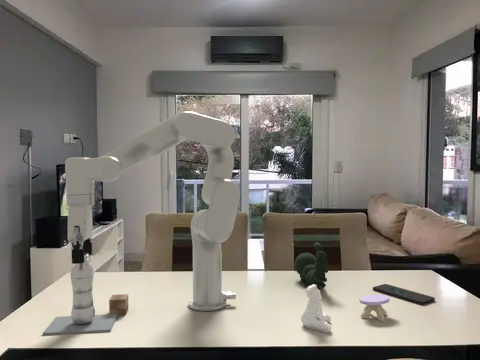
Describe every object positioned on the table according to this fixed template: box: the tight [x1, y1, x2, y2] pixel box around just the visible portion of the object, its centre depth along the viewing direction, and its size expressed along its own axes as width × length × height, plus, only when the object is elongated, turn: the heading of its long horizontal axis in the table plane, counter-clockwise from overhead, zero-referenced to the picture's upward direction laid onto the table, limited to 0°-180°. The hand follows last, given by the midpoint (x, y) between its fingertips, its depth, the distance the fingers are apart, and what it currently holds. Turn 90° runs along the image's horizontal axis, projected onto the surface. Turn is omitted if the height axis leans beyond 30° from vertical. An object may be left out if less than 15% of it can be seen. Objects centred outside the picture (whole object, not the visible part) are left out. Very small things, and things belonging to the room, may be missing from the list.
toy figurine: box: [293, 242, 329, 289], centre depth 159 cm, size 9×19×25 cm
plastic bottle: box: [69, 253, 96, 324], centre depth 119 cm, size 6×7×20 cm
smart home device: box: [372, 283, 436, 306], centre depth 145 cm, size 8×2×20 cm
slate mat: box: [42, 313, 119, 336], centre depth 119 cm, size 18×12×1 cm, turn 98°
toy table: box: [359, 294, 390, 322], centre depth 125 cm, size 10×9×6 cm
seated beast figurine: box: [300, 284, 332, 334], centre depth 118 cm, size 10×9×12 cm
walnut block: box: [108, 293, 129, 316], centre depth 129 cm, size 5×5×5 cm
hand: (82, 259), depth 118 cm, fingers open, 9 cm apart
